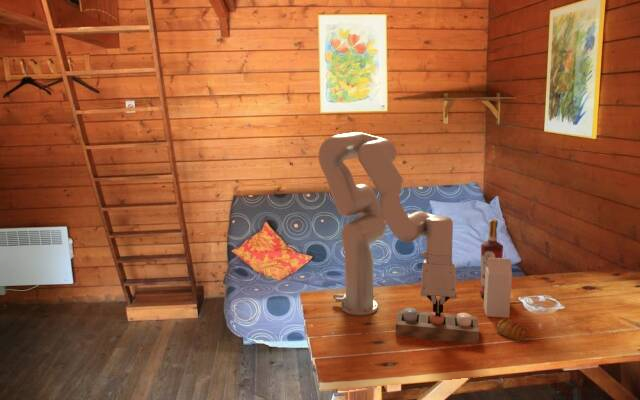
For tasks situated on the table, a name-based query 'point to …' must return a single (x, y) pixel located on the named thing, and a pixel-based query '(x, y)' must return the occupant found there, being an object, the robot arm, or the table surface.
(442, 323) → the brick key
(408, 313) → the grey rounded block
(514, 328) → the pastry
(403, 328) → the console
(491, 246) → the liquor
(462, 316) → the white button
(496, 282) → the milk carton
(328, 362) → the table surface
